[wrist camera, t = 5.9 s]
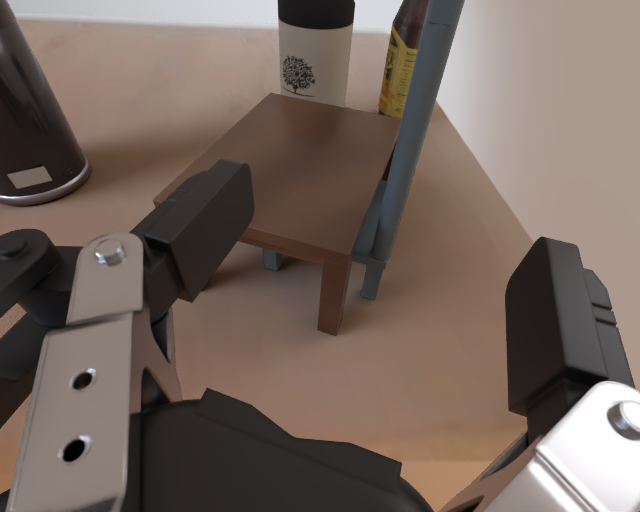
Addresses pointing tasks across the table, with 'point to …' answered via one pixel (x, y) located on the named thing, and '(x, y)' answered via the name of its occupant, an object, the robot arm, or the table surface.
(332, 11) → the travel mug
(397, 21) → the sauce bottle
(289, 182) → the walnut table
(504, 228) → the table surface
